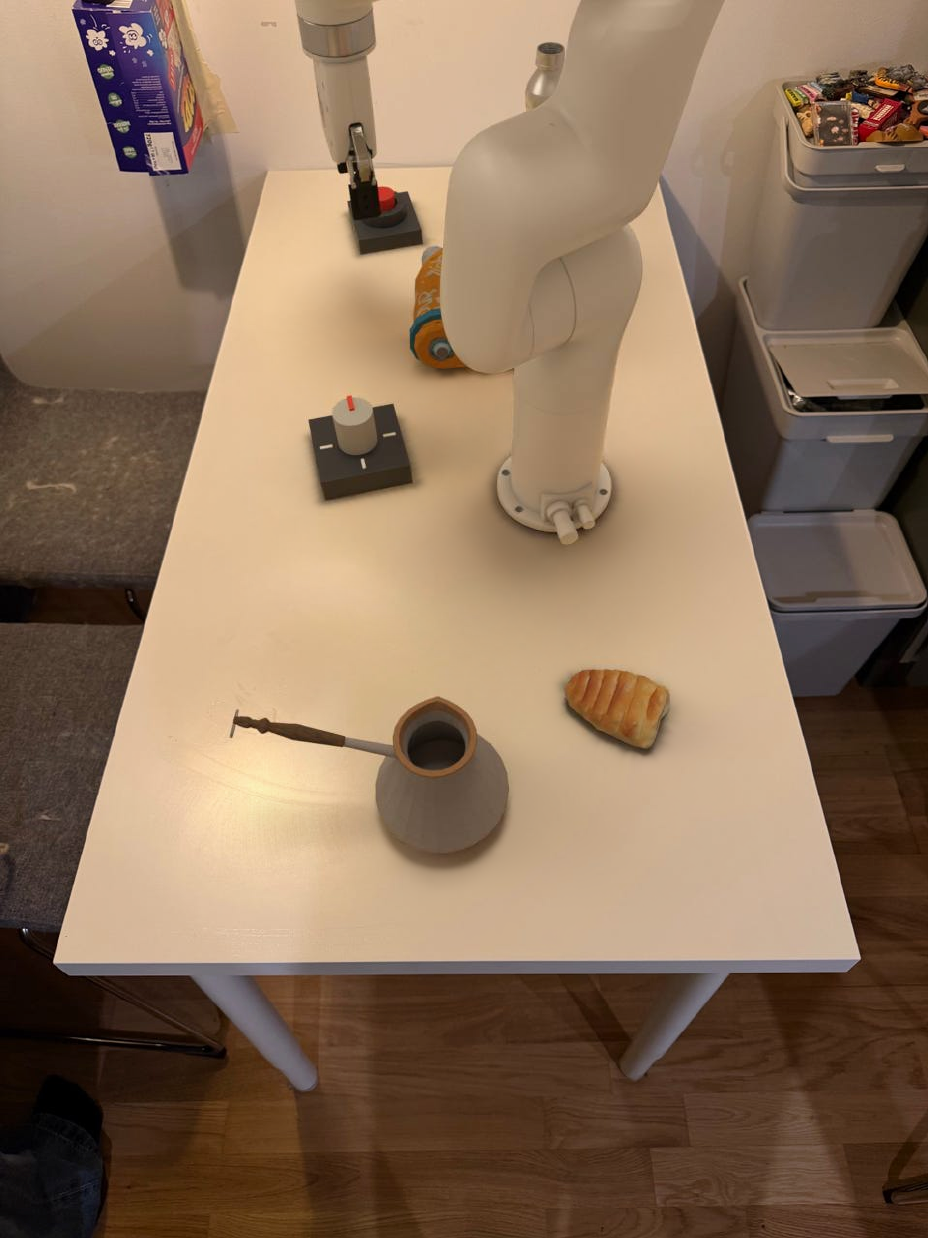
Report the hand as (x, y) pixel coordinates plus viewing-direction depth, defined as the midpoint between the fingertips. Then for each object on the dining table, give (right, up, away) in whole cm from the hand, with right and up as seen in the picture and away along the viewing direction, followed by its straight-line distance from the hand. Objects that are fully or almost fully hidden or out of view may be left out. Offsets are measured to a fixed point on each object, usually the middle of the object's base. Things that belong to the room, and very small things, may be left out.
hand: (359, 193), depth 98 cm
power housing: (+1, +6, +23) cm, 24 cm away
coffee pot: (+6, -66, -24) cm, 70 cm away
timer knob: (0, -30, -4) cm, 30 cm away
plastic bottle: (+24, +12, +26) cm, 38 cm away
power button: (+1, +8, +20) cm, 22 cm away
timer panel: (+1, -32, -2) cm, 32 cm away
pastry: (+27, -59, -20) cm, 68 cm away
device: (+20, -10, +12) cm, 25 cm away
